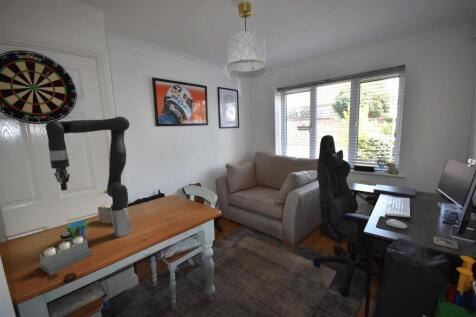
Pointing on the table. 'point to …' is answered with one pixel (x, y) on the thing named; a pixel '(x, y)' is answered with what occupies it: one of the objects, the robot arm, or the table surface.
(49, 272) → the grey compartment box
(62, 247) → the knob mid
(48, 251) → the knob
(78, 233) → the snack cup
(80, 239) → the knob
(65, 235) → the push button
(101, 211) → the cereal box
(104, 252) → the table surface
